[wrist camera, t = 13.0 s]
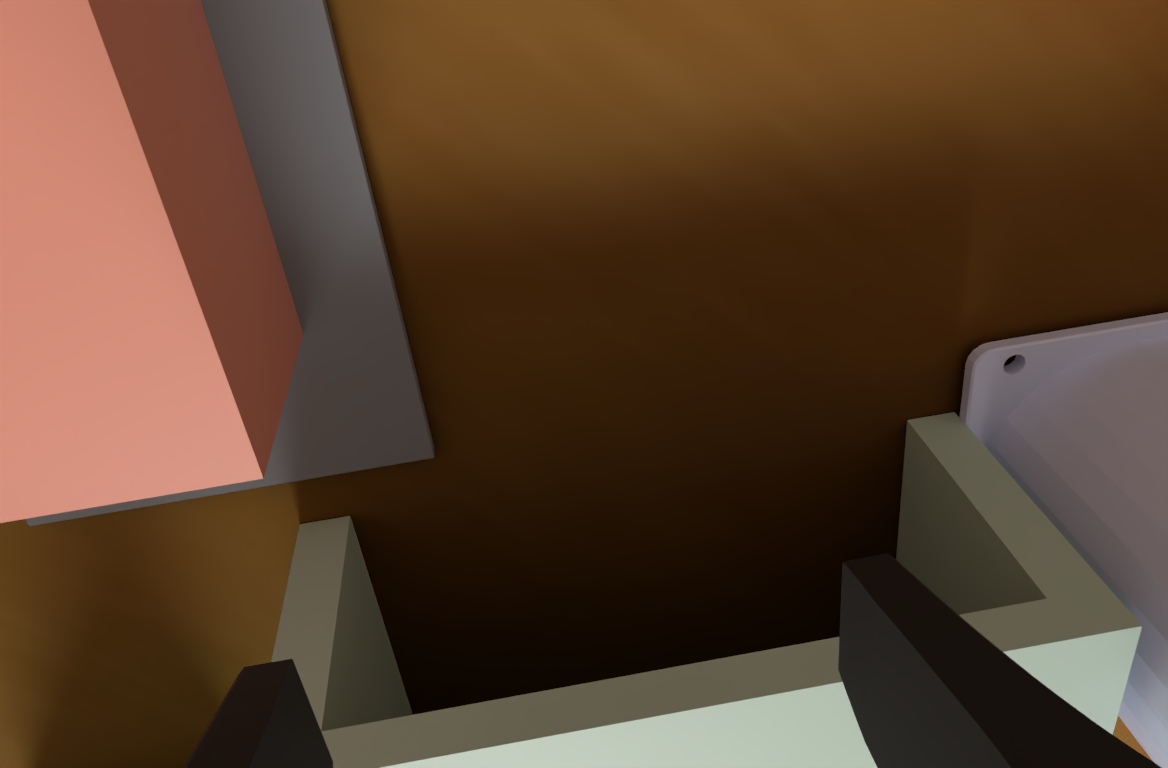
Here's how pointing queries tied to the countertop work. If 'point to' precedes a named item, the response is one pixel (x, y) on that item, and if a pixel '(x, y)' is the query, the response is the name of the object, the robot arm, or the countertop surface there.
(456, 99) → the countertop surface
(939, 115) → the countertop surface
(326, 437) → the mat
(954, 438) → the shelf cubby
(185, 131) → the plain pink rectangular block
